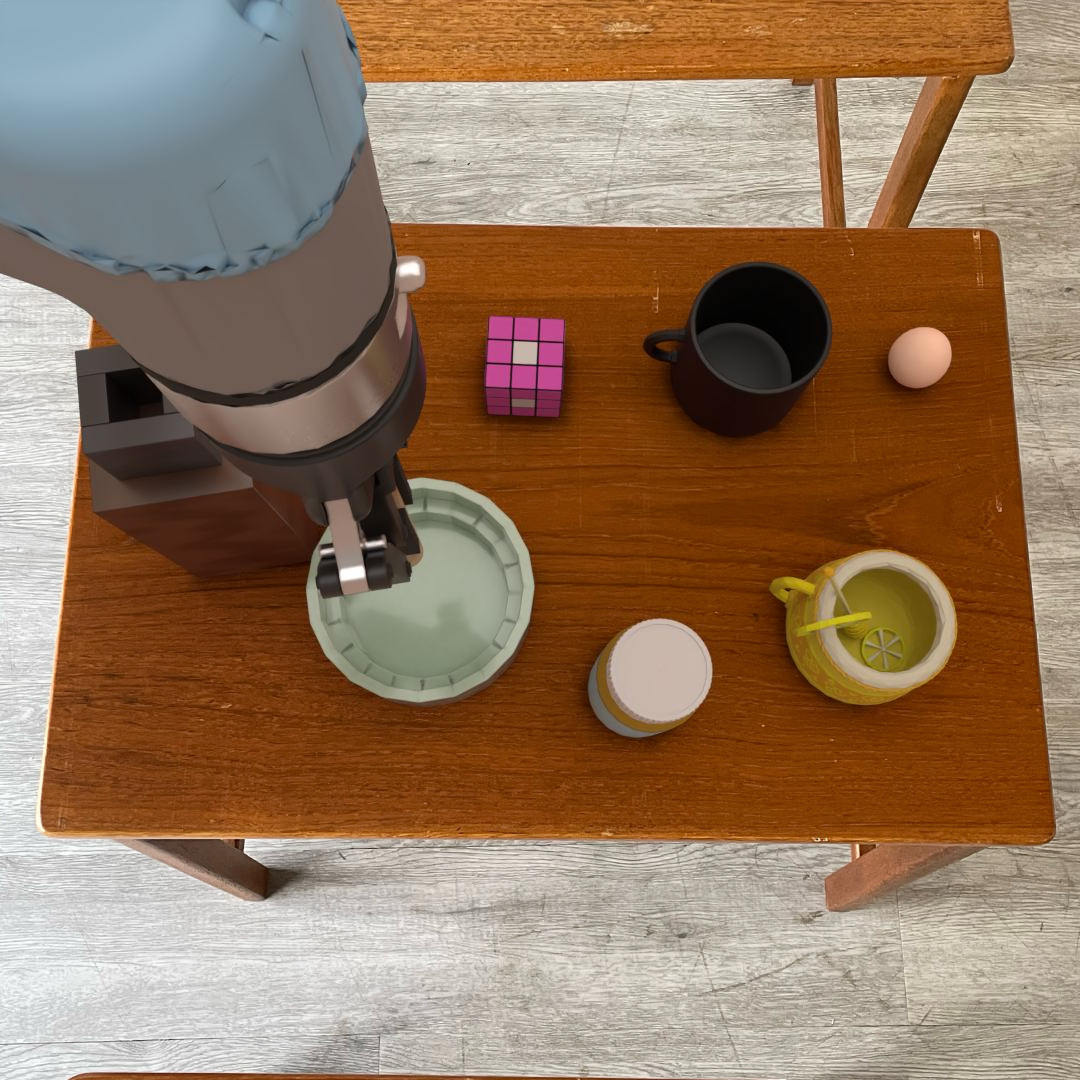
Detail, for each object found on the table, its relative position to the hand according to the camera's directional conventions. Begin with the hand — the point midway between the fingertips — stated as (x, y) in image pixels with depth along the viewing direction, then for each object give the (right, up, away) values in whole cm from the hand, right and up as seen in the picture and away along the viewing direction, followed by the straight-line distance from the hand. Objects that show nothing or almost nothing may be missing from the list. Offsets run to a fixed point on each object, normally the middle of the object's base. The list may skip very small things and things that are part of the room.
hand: (389, 525), depth 54 cm
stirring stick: (0, -1, +6) cm, 6 cm away
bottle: (+15, -12, +23) cm, 30 cm away
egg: (+37, +13, +29) cm, 48 cm away
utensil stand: (-14, +1, +25) cm, 29 cm away
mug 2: (+30, -7, +24) cm, 39 cm away
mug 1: (+22, +12, +28) cm, 38 cm away
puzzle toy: (+7, +12, +28) cm, 31 cm away
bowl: (-1, -5, +24) cm, 24 cm away
